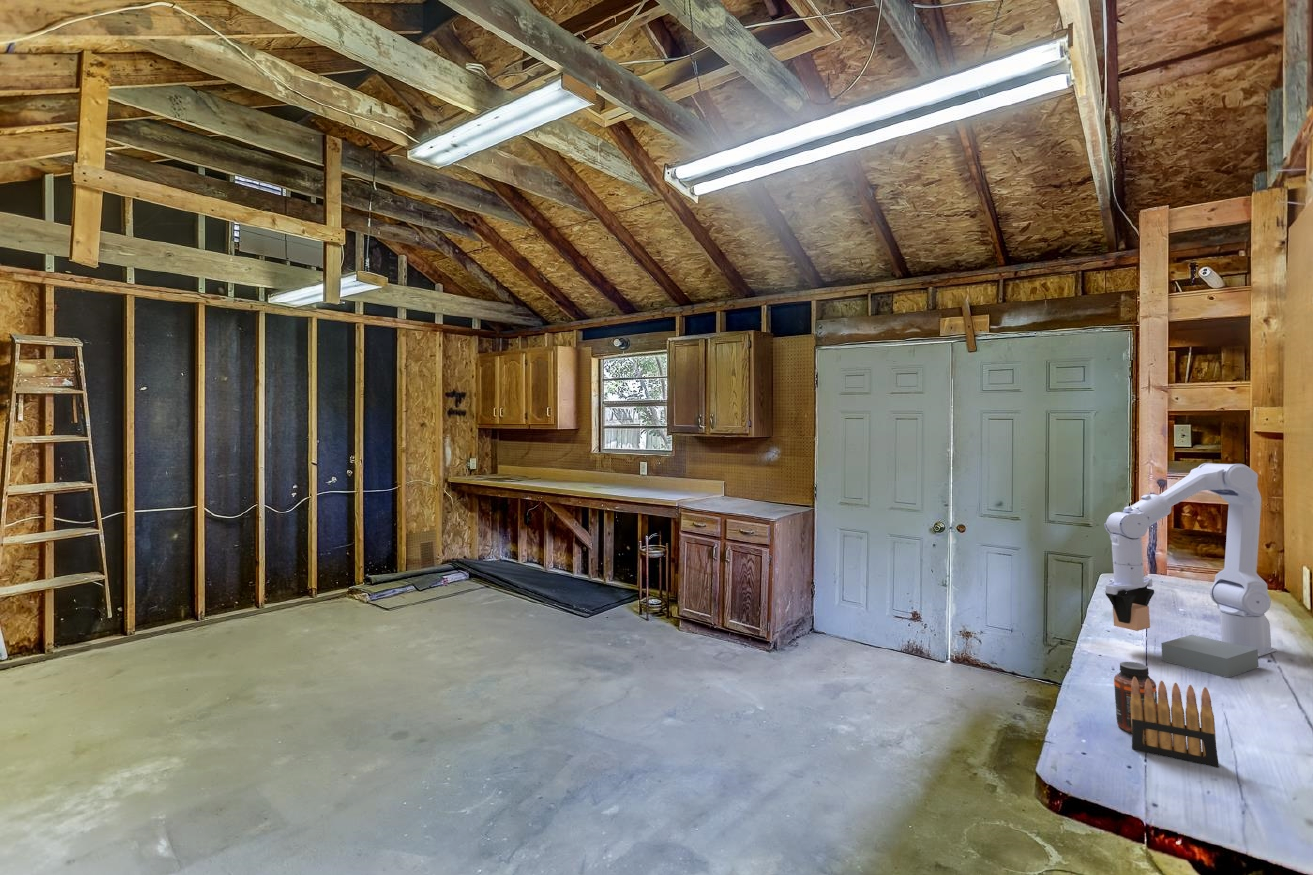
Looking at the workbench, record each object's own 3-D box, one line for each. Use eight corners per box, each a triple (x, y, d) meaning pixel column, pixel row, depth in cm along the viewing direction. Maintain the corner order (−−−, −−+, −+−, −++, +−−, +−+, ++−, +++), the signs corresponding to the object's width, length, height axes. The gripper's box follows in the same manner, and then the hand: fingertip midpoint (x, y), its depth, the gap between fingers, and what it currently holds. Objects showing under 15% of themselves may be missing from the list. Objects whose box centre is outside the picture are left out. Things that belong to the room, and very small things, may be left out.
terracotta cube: (1126, 622, 149) (1125, 601, 149) (1150, 627, 144) (1148, 606, 144) (1114, 625, 147) (1112, 604, 147) (1137, 631, 142) (1135, 609, 142)
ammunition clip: (1132, 749, 102) (1127, 677, 102) (1132, 745, 103) (1127, 673, 103) (1219, 768, 95) (1213, 690, 95) (1217, 762, 96) (1212, 686, 97)
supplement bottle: (1167, 738, 105) (1163, 671, 105) (1128, 736, 106) (1124, 670, 106) (1147, 722, 111) (1143, 659, 111) (1110, 721, 112) (1106, 658, 112)
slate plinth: (1192, 651, 144) (1191, 634, 144) (1258, 667, 133) (1257, 649, 133) (1162, 660, 140) (1161, 643, 140) (1228, 677, 129) (1226, 658, 129)
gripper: (1128, 557, 152) (1131, 612, 152) (1090, 564, 146) (1094, 621, 146) (1160, 561, 146) (1164, 618, 145) (1122, 568, 140) (1126, 628, 140)
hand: (1131, 620), depth 145 cm, fingers closed on terracotta cube, 5 cm apart
